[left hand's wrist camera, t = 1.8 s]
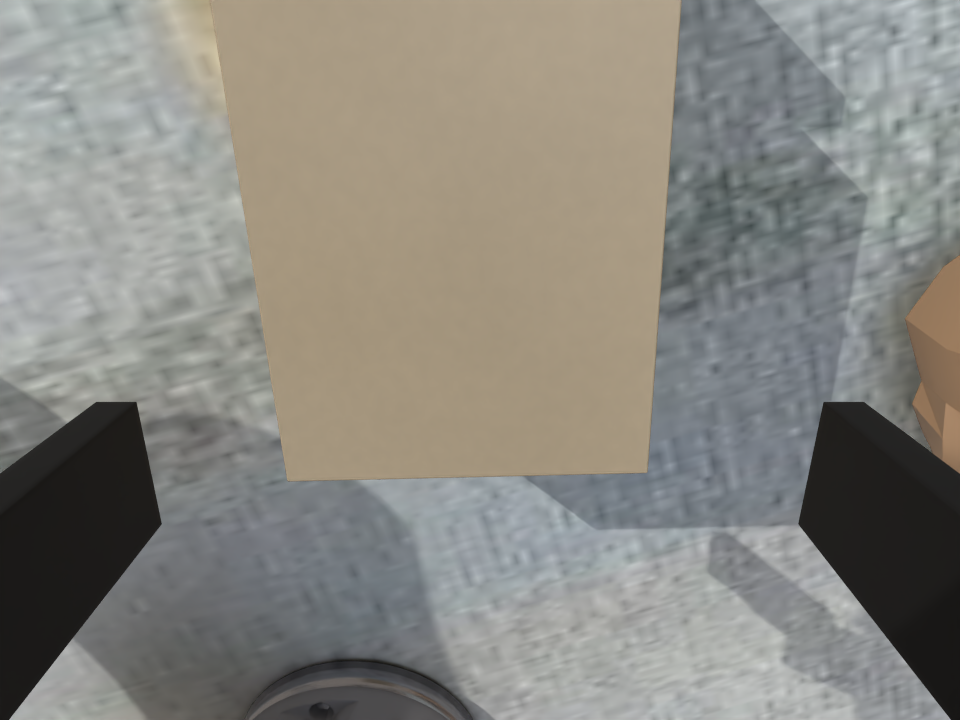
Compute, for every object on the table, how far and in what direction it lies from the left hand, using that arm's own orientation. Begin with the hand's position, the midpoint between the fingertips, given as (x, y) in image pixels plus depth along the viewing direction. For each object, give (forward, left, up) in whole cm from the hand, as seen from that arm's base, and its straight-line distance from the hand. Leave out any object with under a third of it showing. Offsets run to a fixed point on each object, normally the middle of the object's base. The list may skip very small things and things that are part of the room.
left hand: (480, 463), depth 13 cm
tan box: (+3, +3, -18) cm, 19 cm away
